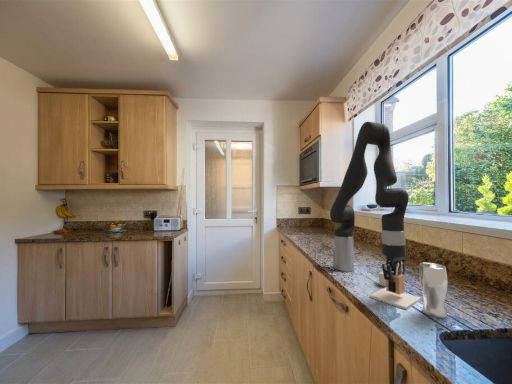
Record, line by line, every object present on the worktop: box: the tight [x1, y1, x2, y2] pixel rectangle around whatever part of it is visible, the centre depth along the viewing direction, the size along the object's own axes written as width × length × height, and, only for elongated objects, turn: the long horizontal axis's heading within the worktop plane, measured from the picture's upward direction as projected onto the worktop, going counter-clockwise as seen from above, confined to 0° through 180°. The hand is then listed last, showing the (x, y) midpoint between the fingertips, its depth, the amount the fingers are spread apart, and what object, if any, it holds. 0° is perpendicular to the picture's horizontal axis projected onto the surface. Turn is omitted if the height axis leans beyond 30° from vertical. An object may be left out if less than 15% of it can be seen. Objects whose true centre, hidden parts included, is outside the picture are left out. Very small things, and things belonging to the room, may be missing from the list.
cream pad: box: [369, 286, 422, 311], centre depth 82 cm, size 12×12×1 cm
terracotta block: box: [385, 273, 406, 295], centre depth 82 cm, size 4×4×6 cm
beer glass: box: [418, 262, 448, 319], centre depth 71 cm, size 7×7×15 cm
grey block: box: [378, 270, 386, 287], centre depth 95 cm, size 4×4×5 cm
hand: (395, 289), depth 82 cm, fingers closed on terracotta block, 4 cm apart
